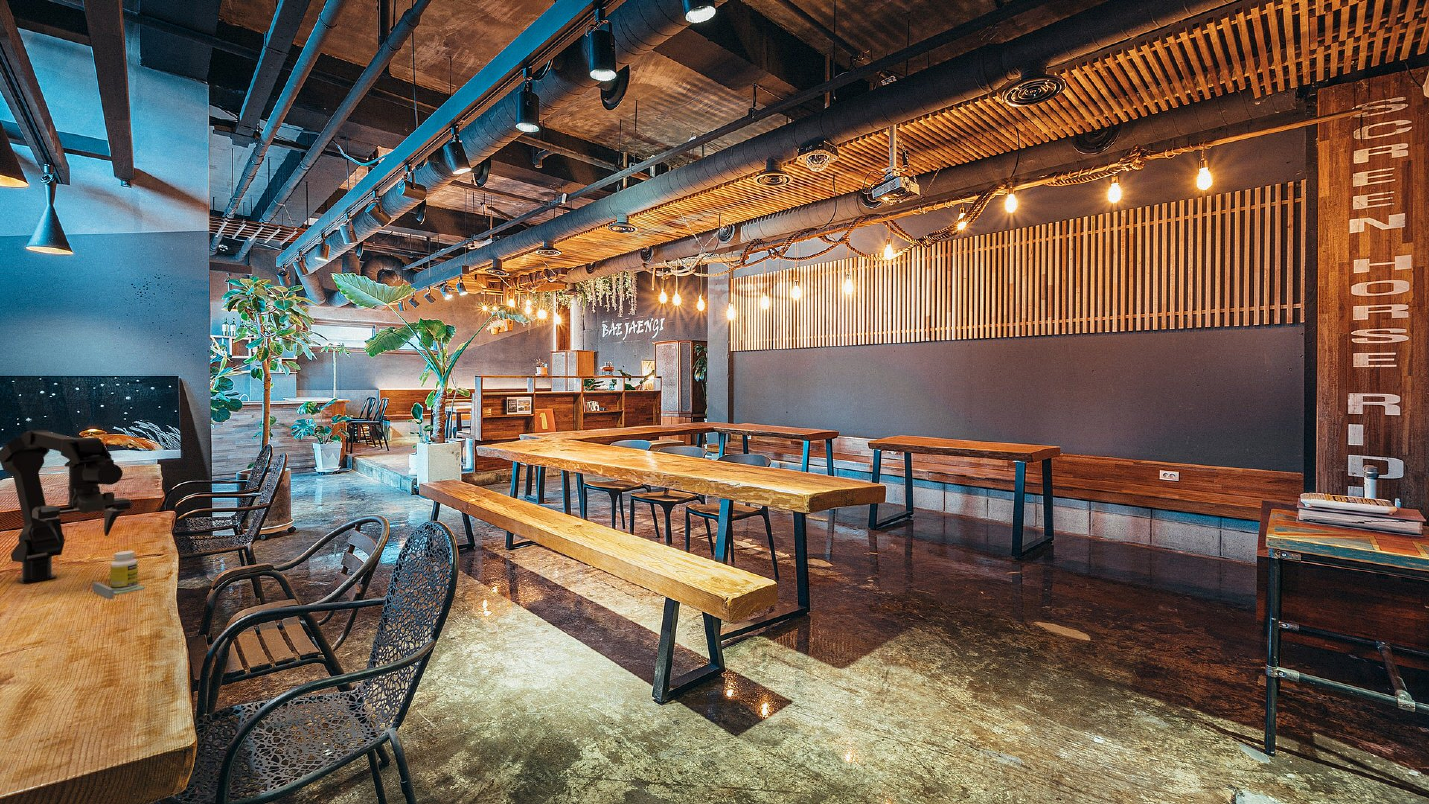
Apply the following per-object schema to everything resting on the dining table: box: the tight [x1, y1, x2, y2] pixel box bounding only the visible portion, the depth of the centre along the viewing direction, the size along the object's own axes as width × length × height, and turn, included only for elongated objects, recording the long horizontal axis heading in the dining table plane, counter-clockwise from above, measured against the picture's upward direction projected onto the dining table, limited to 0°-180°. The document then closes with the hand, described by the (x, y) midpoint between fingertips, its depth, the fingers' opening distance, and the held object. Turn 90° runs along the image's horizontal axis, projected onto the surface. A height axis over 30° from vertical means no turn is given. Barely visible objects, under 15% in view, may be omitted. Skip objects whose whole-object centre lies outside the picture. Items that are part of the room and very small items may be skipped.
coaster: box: [114, 584, 145, 595], centre depth 169 cm, size 7×6×1 cm
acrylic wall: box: [92, 581, 115, 600], centre depth 164 cm, size 12×1×2 cm, turn 60°
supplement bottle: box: [109, 550, 139, 591], centre depth 169 cm, size 5×5×10 cm
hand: (83, 539), depth 171 cm, fingers open, 9 cm apart
